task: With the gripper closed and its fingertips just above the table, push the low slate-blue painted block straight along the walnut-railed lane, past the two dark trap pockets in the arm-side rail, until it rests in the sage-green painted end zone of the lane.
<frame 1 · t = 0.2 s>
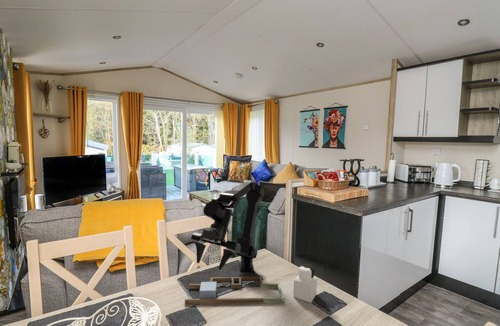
hand: (208, 266, 94), 15 cm above the table, tool tilted 30°, fingers open, 9 cm apart
block: (208, 295, 101), on the table
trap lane: (234, 294, 101), on the table
medicine bottle: (305, 296, 102), on the table
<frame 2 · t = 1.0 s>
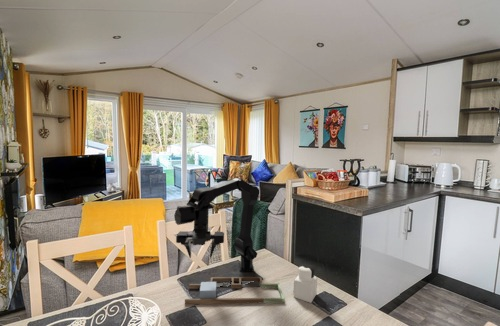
hand: (200, 257, 106), 12 cm above the table, tool pointing down, fingers open, 8 cm apart
nothing on the table moved.
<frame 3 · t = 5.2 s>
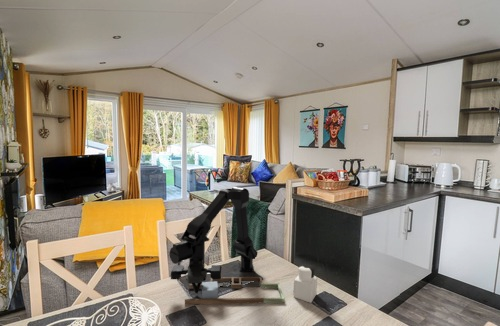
hand: (196, 293, 100), 1 cm above the table, tool pointing down, fingers closed
block: (209, 295, 100), on the table, touching gripper
everything else where it was.
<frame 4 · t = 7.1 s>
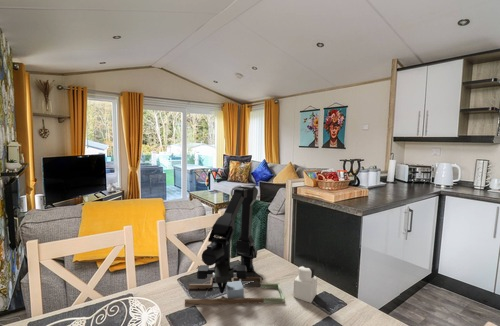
hand: (221, 292, 101), 1 cm above the table, tool pointing down, fingers closed
block: (234, 295, 101), on the table
everything else where it was.
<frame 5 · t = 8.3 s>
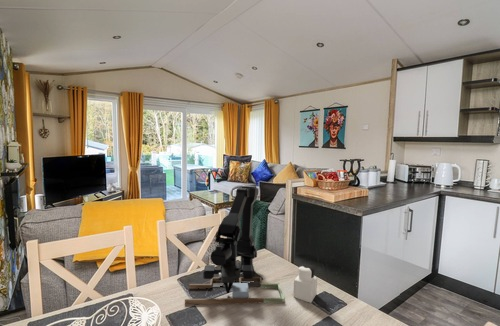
hand: (227, 292, 101), 1 cm above the table, tool pointing down, fingers closed
block: (240, 296, 101), on the table, touching gripper
everything else where it was.
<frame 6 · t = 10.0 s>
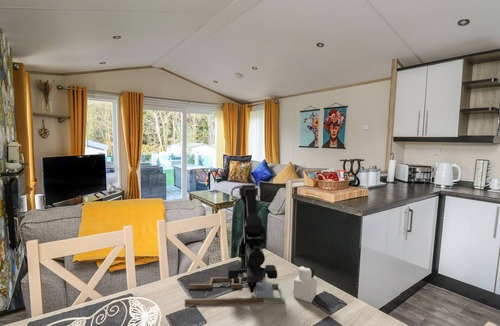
hand: (251, 292, 102), 1 cm above the table, tool pointing down, fingers closed
block: (264, 296, 101), on the table, touching gripper
everything else where it was.
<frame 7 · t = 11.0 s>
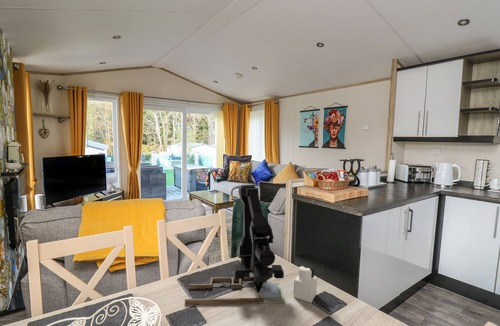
hand: (258, 292, 102), 1 cm above the table, tool pointing down, fingers closed
block: (270, 297, 101), on the table
everything else where it was.
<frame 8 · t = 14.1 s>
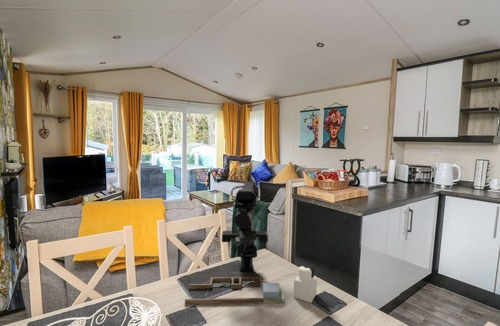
hand: (244, 256, 108), 12 cm above the table, tool pointing down, fingers closed
nothing on the table moved.
at the end: block inside the target area (1.3 cm from its centre), on the table; block tilted 0°; the gripper is holding nothing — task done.
